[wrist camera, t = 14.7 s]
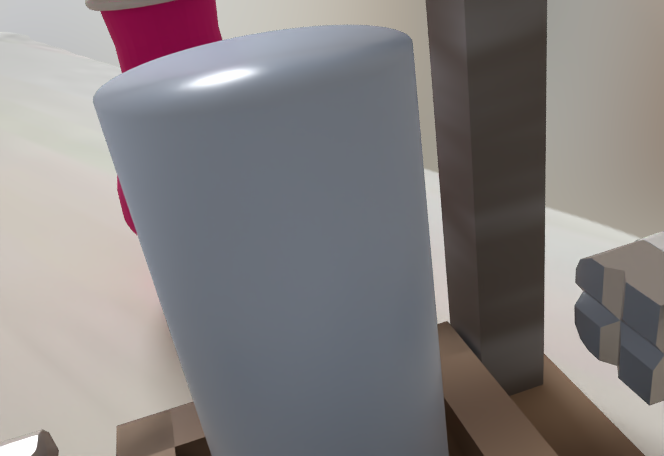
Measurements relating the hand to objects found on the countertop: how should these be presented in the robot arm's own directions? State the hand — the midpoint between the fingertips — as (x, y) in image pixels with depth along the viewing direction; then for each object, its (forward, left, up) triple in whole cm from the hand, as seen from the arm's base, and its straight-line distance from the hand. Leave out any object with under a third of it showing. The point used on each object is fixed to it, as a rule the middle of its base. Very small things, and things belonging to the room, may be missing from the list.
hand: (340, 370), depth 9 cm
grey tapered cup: (+2, +1, -8) cm, 8 cm away
